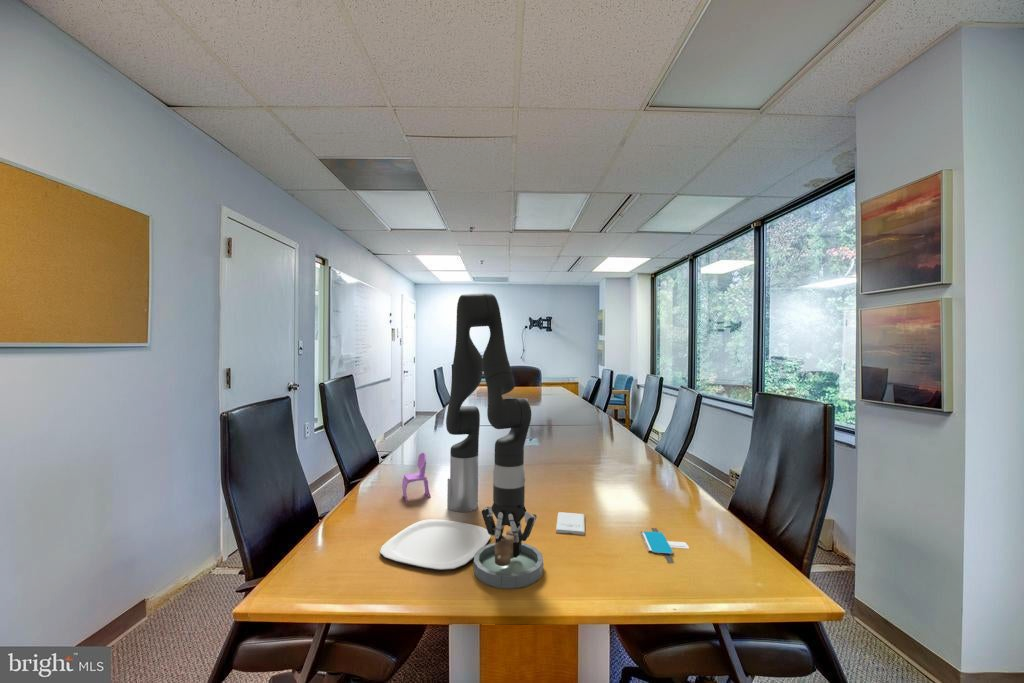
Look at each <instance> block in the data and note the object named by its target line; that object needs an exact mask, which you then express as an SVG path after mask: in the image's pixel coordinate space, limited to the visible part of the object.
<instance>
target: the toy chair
mask: <svg viewBox="0 0 1024 683" xmlns="http://www.w3.org/2000/svg"><path fill="white" fill-rule="evenodd" d="M416 466H417V468H418V469H419V472H415V473H407V474H405V473H404V474H403V478H402V486H401V487H402V495H403V497H404V499H405V501H406V502H409V499H408V496H407V487H408V484H410V483H414V482H418V481H420V482H421V481H423V485H424V491H425V494H426V495H427V496H428V497H429V498H432V496H431V493H430V489H429V481H428V478H427V476H426V475H425V473H426V468H427V467H426V466H427V453H426V452H421V453H419V455H418V458H417V464H416Z"/></svg>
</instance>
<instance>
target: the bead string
mask: <svg viewBox="0 0 1024 683" xmlns="http://www.w3.org/2000/svg"><path fill="white" fill-rule="evenodd" d="M513 542H514V536H513V533H512V530H511V529H508V530H506V533H505V535H502V537H501V541H499V542H496V543H495V542H494V543H495V564H497V565H499V566H506V565H509V564H510V559H512V558H514V557H513Z"/></svg>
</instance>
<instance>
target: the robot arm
mask: <svg viewBox="0 0 1024 683" xmlns="http://www.w3.org/2000/svg"><path fill="white" fill-rule="evenodd" d="M501 316H502V315H501V309H500V304H499V303H498V300H497V298H496V296H495V295H494V294H493V293H487V292H486V293H485V292H483V293H480V292H479V293H477V292H476V293H463V294H461V295H460V296H459V297H458V301H457V303H456V322H455V324H456V327H455V328H456V329H455V331H456V332H455V346H454V347H455V348H454V354H453V355H454V356H453V361H452V362H453V363H452V371H451V385H450V396H449V401H448V406H447V413H446V419H445V427H446V430H447V433H448V434H450V435H454V436H456V435H457V436H458V435H459V436H460V435H461V436H462V435H463V436H464V435H467V437H465V438H464V439H463V440H461V441H459V442H457V443H455V444H453V445H451V447H450V452H449V453H450V456H449V457H450V458H449V459H450V460H449V461H450V466H449V468H450V470H449V472H450V476H449V477H448V478H447V497H446V498H447V499H446V500H447V501H446V502H447V504H446V505H447V509H450V510H452V511H453V512H457V513H469V512H471V511H472V512H473V511H474V510H476V509H478V508H479V441H480V440H479V437H480V422H481V419H480V418H481V415H480V410H479V408H478V407H477V406H475V405H467V406H466V405H465V406H463V403H464V402H465V400H467V398H468V397H470V396H471V395H472V393H474V392H475V391H476V389H477V388H478V387H479V385H480V384H481V383H482V380H483V379H482V378H483V376H484V380H485V384H486V388H487V410H486V411H487V412H486V414H487V416H486V417H487V419H488V422H489V424H490V425H491V427H492V428H494V429H496V430H504V429H505V430H507V429H510V430H509V431H508V433H507V434H506V435H505V436H502V437H500V438H498V439H496V441H495V444H494V466H493V476H492V477H493V478H492V479H493V480H492V481H493V482H492V483H493V486H492V487H493V488H492V489H493V490H492V492H493V493H492V497H493V498H492V500H493V501H492V502H493V503H492V506H485V507H484V508H483V509H482V510H481V515H482V518H483V521H484V524H485V529H486V530H487V531H488V534H490V535H492V536H493V537H494V538H495V542H494V543H496V542H499V541H501V537H502V536H503V534H504V531H505V527H506V526H508V527H510V530H512V533H513V536H514V542H513V557H515V558H517V557H518V556H519V554H520V553H521V551H522V549H521V548H522V543H523V542H526V541H527V539H528V538H529V537H530V535H531V533H532V530H533V528H534V525H535V523H536V519H537V518H538V517H537V515H536V514H534V513H533V514H531V513H529V512H528V511H527V509H526V506H525V494H526V493H525V491H526V490H525V488H526V486H525V483H526V476H525V475H526V474H525V462H524V459H525V454H524V452H525V451H524V450H525V444H526V440H527V436H528V432H529V428H530V424H531V420H532V407H531V405H530V403H529V402H528V400H526V399H525V398H522V397H515V398H503V395H507V394H508V393H510V392H512V391H513V390H514V389H515V386H516V383H515V377H514V375H513V371H512V368H511V364H510V362H509V358H508V354H507V349H506V344H505V335H504V334H505V333H504V329H503V323H502V317H501ZM477 327H480V328H481V327H488V329H489V340H488V342H487V345H486V347H485V350H484V352H483V355H481V353H480V351H479V350H478V348H477V347H476V345H475V344H474V342H473V340H472V338H471V335H470V334H471V333H470V332H471V328H477ZM493 515H494V516H495V518H496V522H495V520H494V517H493ZM523 518H524V519H525V520H524V522H525V524H526V525H525V527H524V529H523V532H522V523H521V521H522V519H523Z"/></svg>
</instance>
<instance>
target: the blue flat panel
mask: <svg viewBox="0 0 1024 683" xmlns="http://www.w3.org/2000/svg"><path fill="white" fill-rule="evenodd" d="M651 530H652V531H646V530H645V531H642V530H640V536H641V538H642V540H643V542H644V546H645V548H646V550H647V552H648V553H650V552H652V553H654V555H655V554H657V555H658V554H659V555H660V556H663V557H664V559H665V560H666V562H667V563H669V564H671V563H672V564H675V562H674V560H673V557H672V554H674V550H673V549H684V550H690V547H689V545H688V544H687V543H686V541H671V540H667V539H666V537H665V534H664V533H663V532H661V531H659V530H658V529H657V527H651Z"/></svg>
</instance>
